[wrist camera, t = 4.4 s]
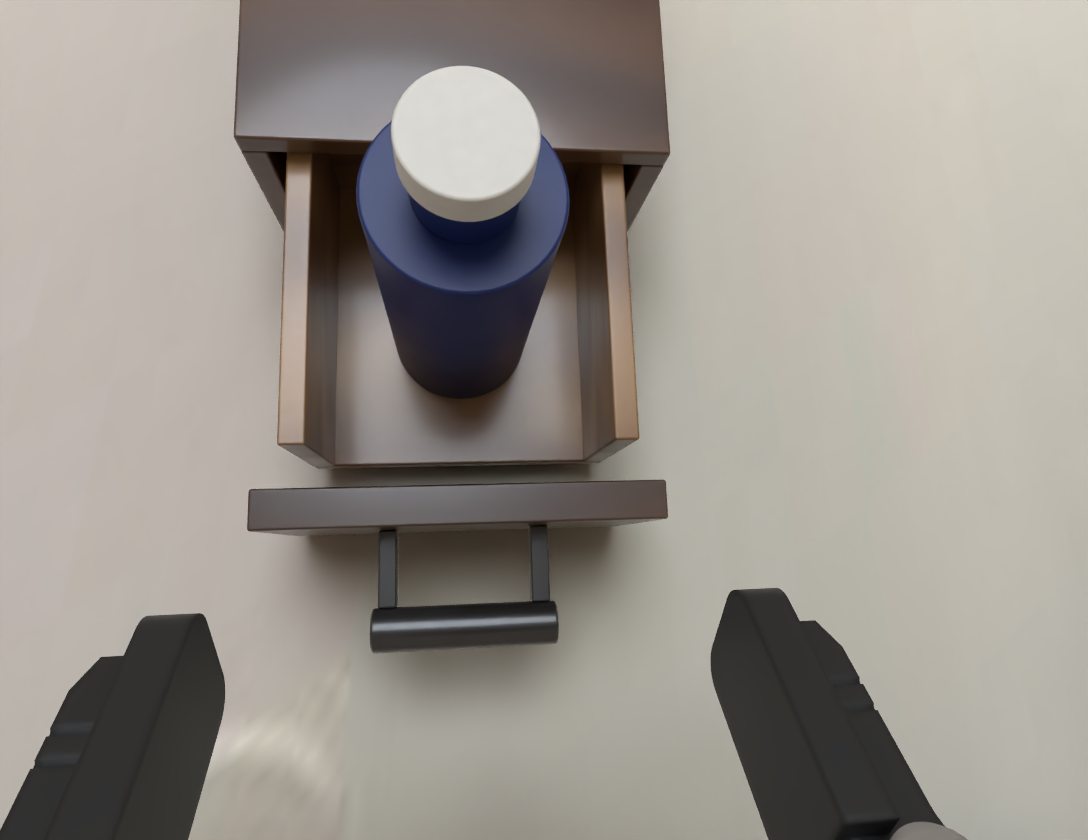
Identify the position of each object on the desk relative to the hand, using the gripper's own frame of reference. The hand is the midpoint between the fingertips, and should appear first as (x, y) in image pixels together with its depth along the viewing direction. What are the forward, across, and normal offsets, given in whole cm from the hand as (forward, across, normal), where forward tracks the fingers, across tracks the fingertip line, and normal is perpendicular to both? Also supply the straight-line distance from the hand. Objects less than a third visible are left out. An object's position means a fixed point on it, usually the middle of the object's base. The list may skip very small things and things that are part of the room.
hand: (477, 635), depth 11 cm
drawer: (+17, 0, +6) cm, 18 cm away
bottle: (+18, 0, +4) cm, 18 cm away
